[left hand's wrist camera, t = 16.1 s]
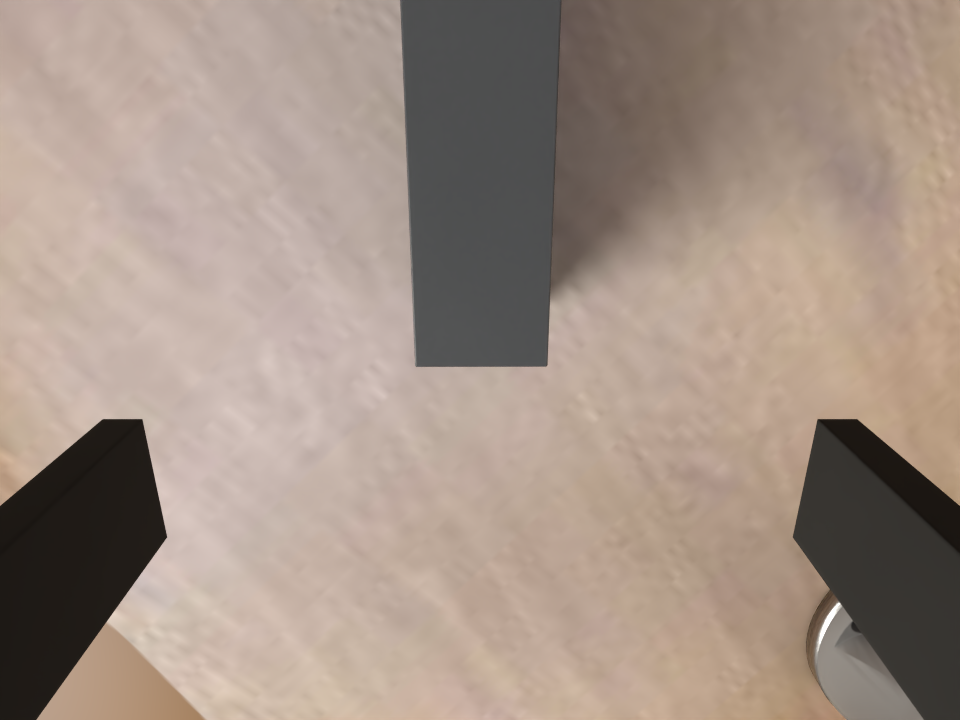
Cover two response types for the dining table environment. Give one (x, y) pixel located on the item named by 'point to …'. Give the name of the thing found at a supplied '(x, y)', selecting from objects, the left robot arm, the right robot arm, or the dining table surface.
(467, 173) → the bar
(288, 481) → the dining table surface
